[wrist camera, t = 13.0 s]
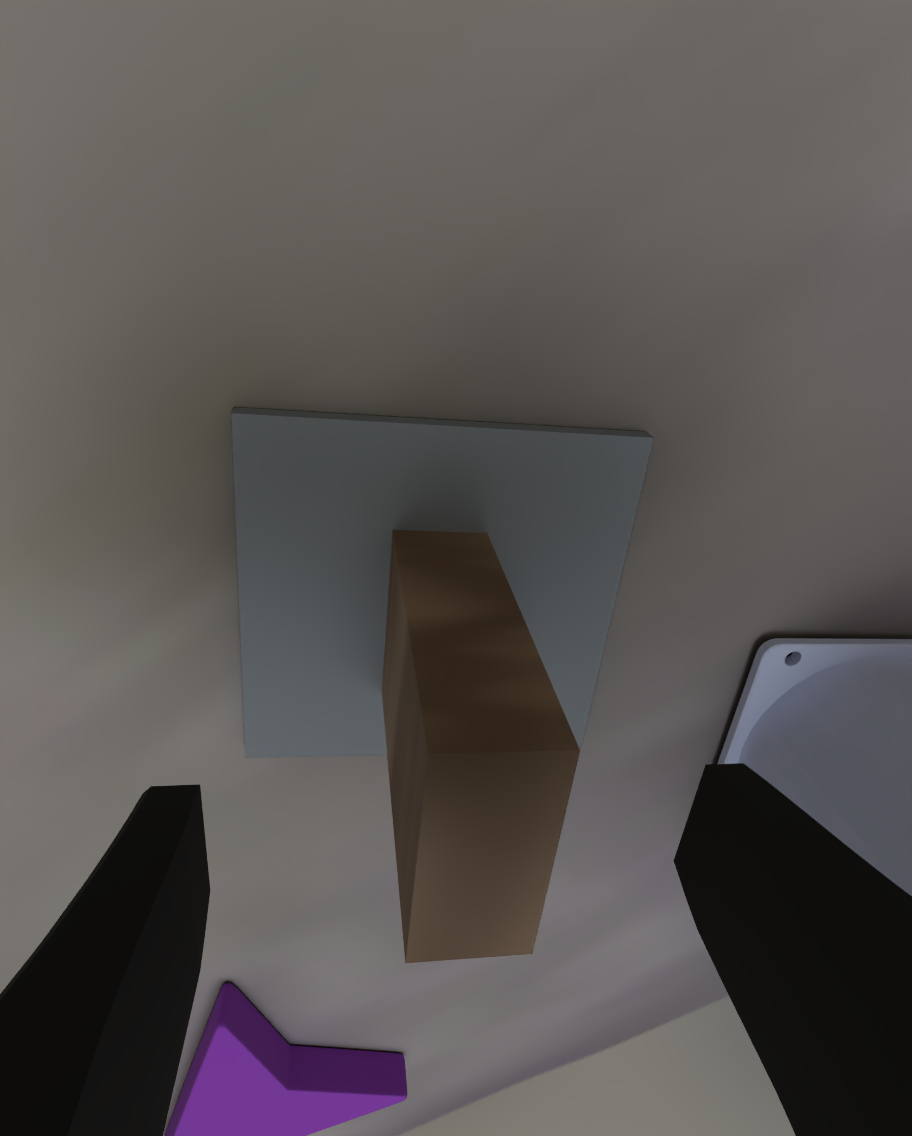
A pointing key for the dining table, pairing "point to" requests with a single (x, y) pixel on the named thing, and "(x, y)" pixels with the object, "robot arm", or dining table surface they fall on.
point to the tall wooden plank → (469, 751)
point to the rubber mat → (363, 554)
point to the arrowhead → (276, 1079)
